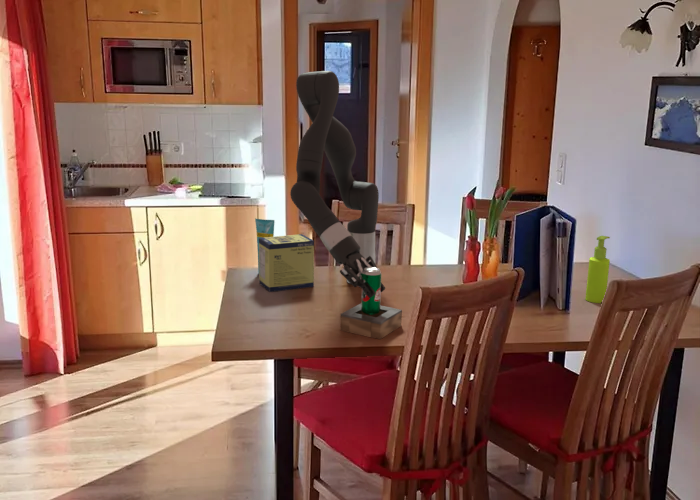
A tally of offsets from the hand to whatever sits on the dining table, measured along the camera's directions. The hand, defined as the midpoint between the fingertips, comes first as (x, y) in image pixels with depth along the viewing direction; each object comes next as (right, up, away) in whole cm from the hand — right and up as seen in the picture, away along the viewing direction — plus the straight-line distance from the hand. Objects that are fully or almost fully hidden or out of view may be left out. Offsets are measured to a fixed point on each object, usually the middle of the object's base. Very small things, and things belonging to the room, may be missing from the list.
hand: (377, 293), depth 181 cm
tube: (-36, +3, +54) cm, 66 cm away
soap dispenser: (+69, -4, +30) cm, 75 cm away
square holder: (-2, -10, +3) cm, 10 cm away
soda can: (-2, -5, +2) cm, 6 cm away
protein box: (-28, 0, +42) cm, 50 cm away
